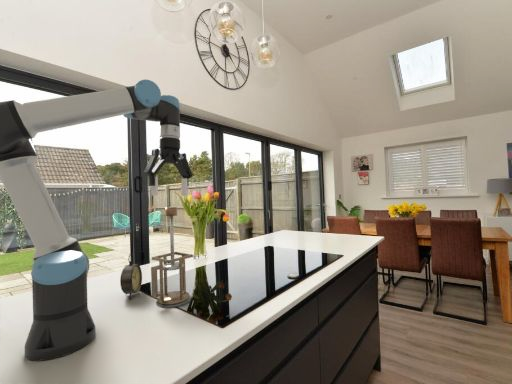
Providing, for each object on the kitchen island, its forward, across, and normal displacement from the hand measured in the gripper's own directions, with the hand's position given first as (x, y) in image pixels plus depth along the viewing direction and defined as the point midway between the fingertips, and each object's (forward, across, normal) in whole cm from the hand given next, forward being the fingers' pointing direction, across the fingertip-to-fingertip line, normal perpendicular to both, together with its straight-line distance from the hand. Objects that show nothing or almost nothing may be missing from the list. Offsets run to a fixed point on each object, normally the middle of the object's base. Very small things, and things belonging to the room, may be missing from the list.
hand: (170, 195), depth 99 cm
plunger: (+26, -1, -2) cm, 27 cm away
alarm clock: (+39, -5, +18) cm, 43 cm away
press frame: (+39, 0, -2) cm, 39 cm away
